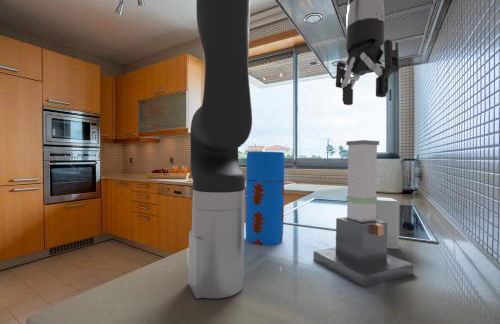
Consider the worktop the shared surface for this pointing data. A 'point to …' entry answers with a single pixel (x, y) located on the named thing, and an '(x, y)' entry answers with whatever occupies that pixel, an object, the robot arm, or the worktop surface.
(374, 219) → the column
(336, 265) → the stand base
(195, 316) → the worktop surface
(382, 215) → the supplement box
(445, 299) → the worktop surface
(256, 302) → the worktop surface
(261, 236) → the thermos
